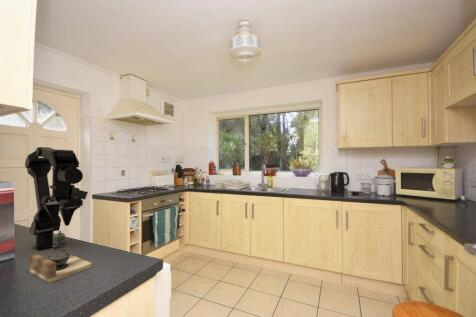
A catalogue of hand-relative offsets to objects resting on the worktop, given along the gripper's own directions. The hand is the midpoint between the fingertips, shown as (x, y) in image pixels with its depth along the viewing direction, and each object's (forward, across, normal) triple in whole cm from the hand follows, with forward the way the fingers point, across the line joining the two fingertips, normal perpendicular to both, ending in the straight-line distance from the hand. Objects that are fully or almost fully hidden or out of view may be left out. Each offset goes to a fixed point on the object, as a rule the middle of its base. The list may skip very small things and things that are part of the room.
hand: (61, 223), depth 86 cm
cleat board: (+12, -13, +5) cm, 18 cm away
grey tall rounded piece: (+11, -14, +6) cm, 19 cm away
